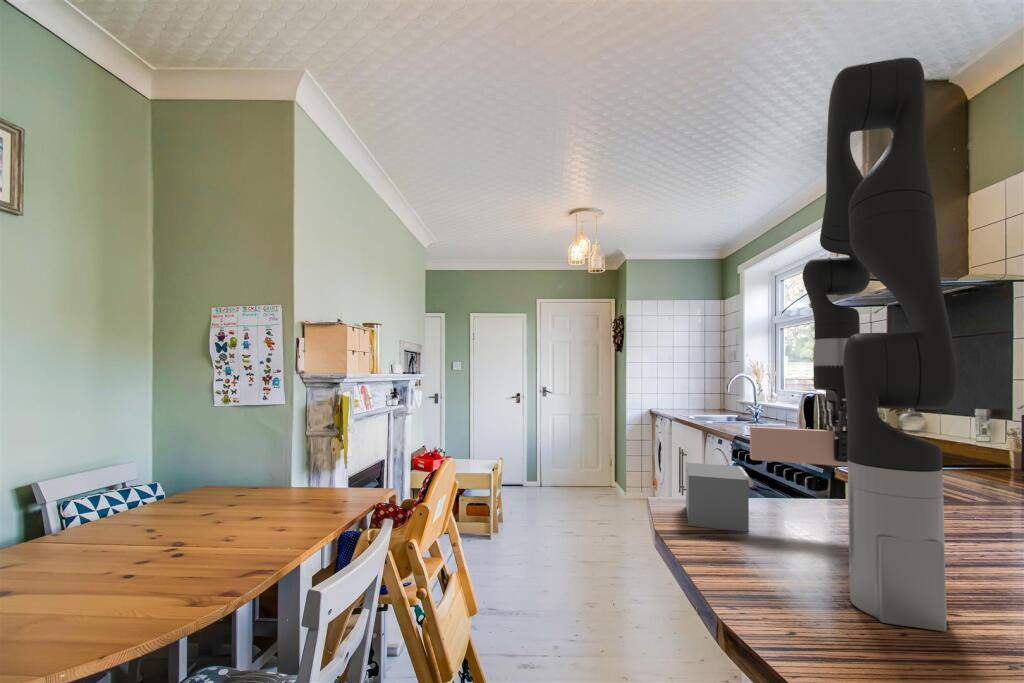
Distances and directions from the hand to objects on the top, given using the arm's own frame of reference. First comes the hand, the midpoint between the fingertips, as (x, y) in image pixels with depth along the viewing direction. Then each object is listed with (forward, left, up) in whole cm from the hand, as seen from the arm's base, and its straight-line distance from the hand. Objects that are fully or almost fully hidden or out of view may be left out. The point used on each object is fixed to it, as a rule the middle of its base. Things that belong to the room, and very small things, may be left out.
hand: (838, 459), depth 92 cm
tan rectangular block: (0, +6, -1) cm, 7 cm away
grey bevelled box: (0, +21, -13) cm, 24 cm away
